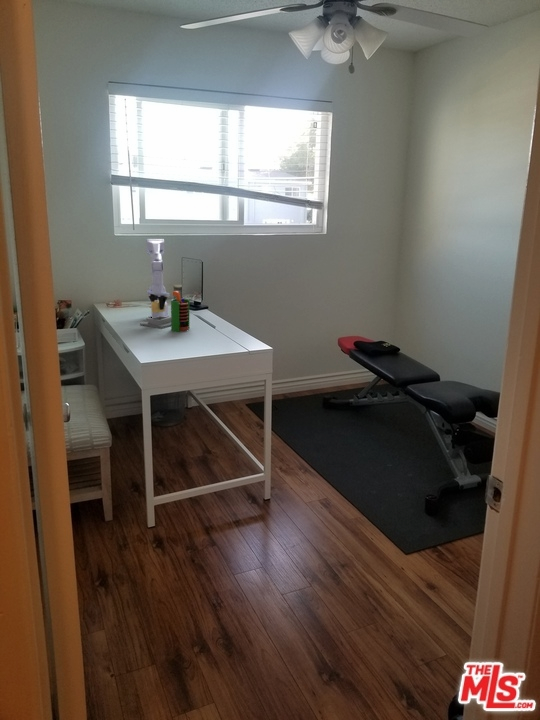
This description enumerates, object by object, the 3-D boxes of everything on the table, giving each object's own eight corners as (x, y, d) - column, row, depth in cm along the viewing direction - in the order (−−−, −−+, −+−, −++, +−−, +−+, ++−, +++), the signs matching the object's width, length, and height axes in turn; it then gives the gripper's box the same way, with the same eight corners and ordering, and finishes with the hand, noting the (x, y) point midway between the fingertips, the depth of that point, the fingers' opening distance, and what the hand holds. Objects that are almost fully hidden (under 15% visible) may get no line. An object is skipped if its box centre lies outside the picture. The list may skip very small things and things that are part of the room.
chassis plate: (157, 320, 303) (157, 314, 302) (178, 323, 296) (178, 317, 295) (140, 325, 291) (140, 318, 290) (162, 328, 284) (161, 321, 283)
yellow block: (161, 310, 296) (160, 298, 294) (166, 310, 294) (166, 299, 293) (149, 312, 289) (149, 300, 287) (155, 313, 287) (155, 301, 285)
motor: (184, 332, 276) (184, 293, 271) (168, 331, 278) (167, 292, 273) (191, 328, 286) (190, 290, 281) (175, 327, 288) (174, 289, 282)
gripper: (142, 283, 287) (143, 308, 291) (163, 285, 281) (164, 311, 284) (151, 281, 293) (151, 306, 297) (172, 284, 287) (172, 309, 290)
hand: (158, 309), depth 291 cm, fingers closed on yellow block, 4 cm apart
